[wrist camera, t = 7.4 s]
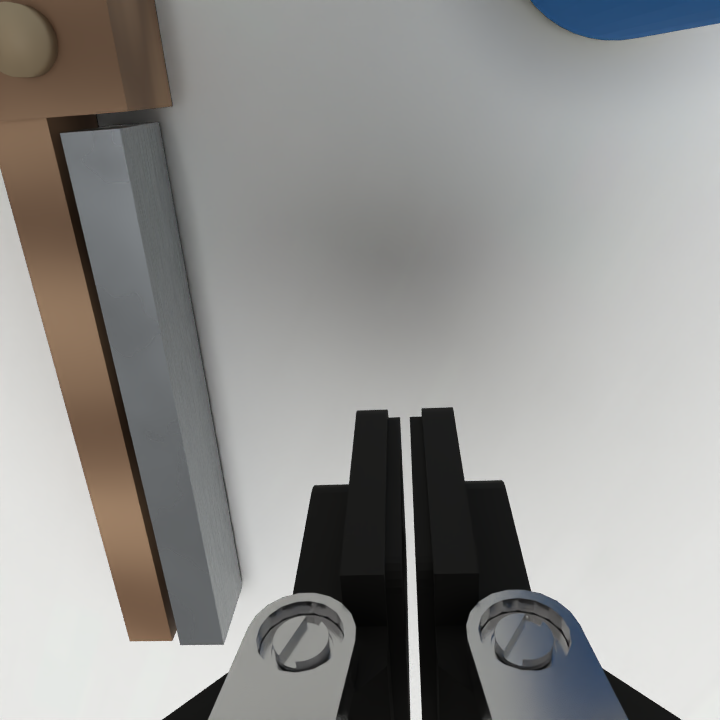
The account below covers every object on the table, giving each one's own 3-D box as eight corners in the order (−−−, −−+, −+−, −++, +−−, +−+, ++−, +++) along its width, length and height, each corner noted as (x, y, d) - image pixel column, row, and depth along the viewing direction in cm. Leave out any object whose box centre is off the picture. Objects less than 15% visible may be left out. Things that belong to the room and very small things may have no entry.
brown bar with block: (-1, -14, 19) (-102, -37, 15) (149, -28, 18) (84, -56, 15) (148, 584, 27) (107, 665, 23) (253, 582, 27) (229, 664, 23)
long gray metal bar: (107, 126, 20) (59, 133, 17) (158, 122, 20) (119, 128, 17) (203, 586, 27) (180, 645, 24) (242, 585, 27) (223, 644, 24)
